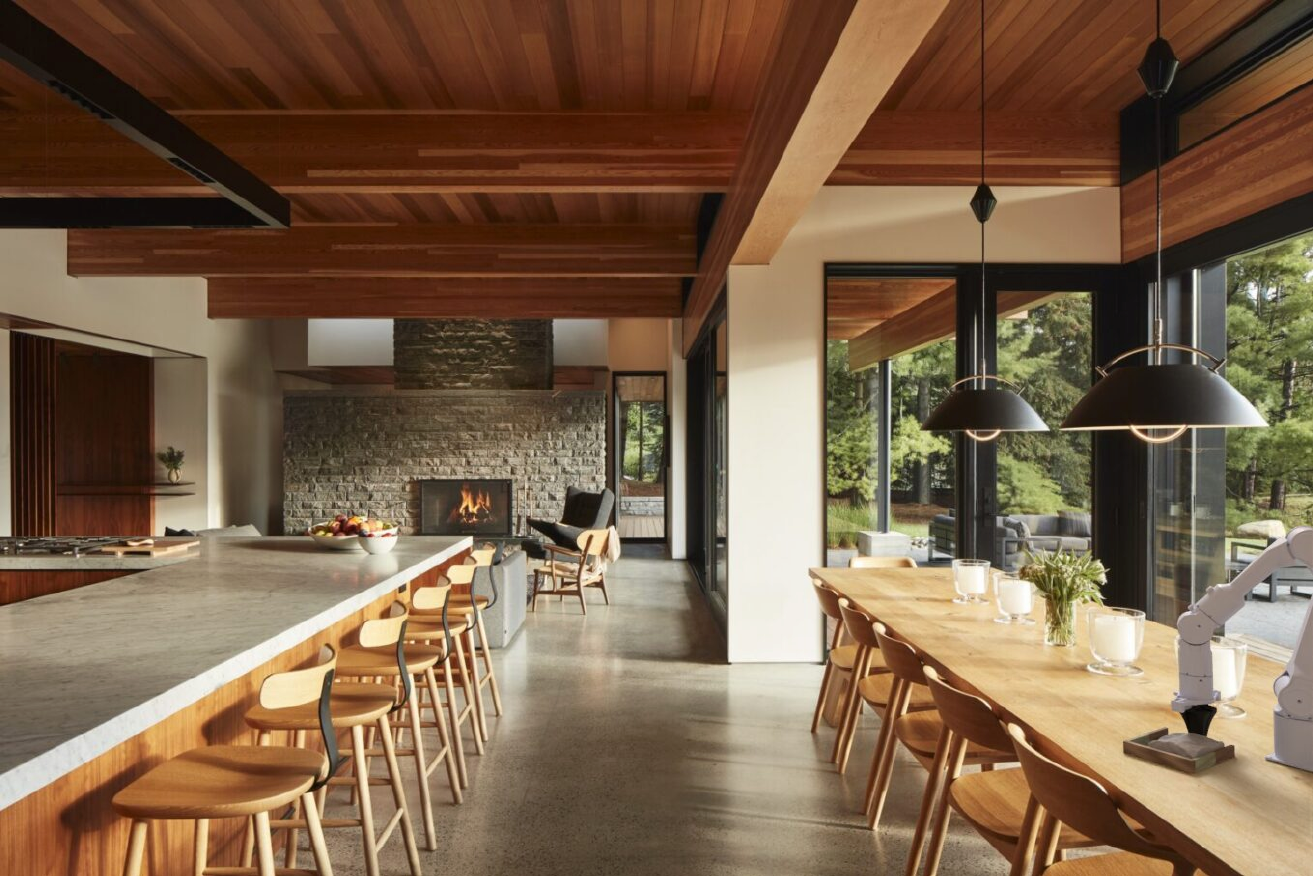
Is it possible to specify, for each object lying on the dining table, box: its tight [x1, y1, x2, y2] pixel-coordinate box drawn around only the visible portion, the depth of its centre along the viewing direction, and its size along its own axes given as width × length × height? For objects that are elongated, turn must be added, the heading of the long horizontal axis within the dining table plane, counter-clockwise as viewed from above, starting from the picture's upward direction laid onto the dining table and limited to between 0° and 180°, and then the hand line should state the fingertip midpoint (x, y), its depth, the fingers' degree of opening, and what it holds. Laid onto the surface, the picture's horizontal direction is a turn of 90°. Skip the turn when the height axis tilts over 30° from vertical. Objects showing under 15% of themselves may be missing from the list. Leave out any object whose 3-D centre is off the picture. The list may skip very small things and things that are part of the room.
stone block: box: [1148, 732, 1226, 759], centre depth 159 cm, size 12×5×10 cm
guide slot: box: [1122, 726, 1236, 774], centre depth 160 cm, size 13×15×2 cm
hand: (1197, 742), depth 164 cm, fingers closed
